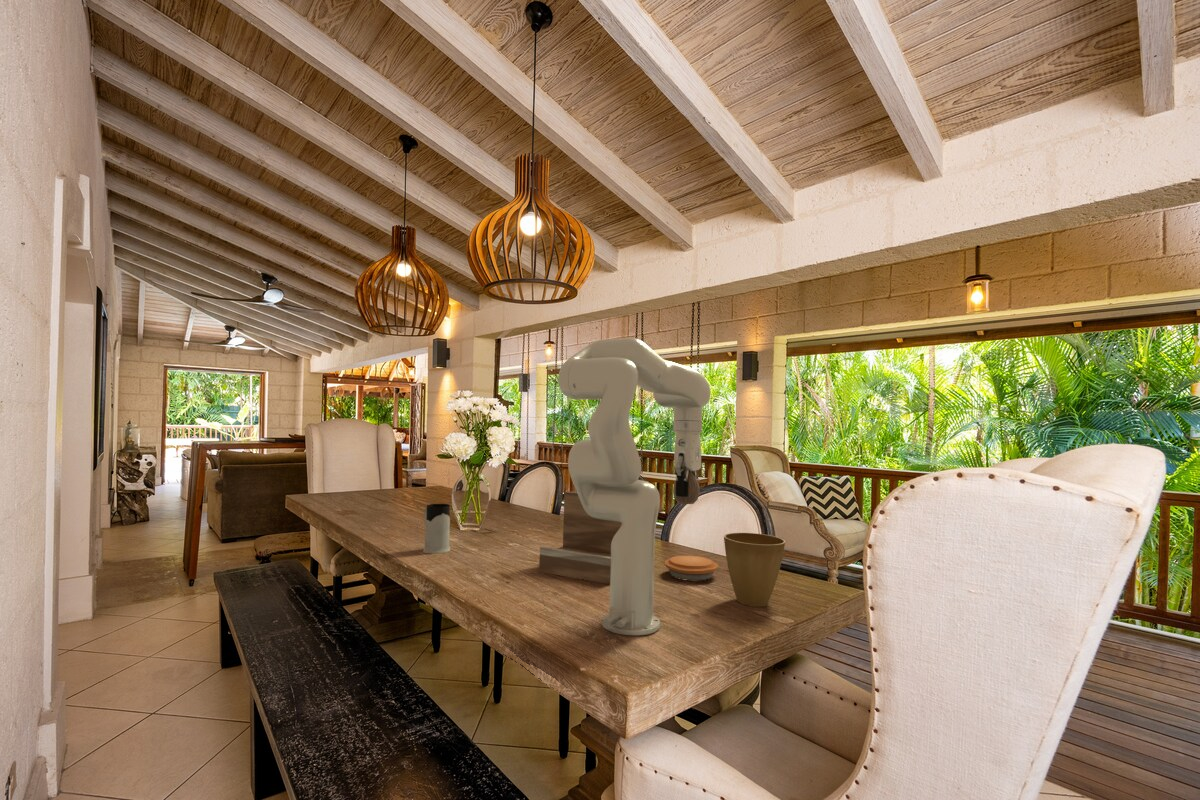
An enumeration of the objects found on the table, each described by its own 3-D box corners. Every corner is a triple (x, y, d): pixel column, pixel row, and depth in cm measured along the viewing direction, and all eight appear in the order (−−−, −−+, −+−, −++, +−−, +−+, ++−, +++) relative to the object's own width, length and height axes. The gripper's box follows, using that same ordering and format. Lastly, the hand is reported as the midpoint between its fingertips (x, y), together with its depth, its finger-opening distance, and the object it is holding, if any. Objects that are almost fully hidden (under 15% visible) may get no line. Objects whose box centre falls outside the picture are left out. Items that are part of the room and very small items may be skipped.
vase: (704, 504, 147) (705, 471, 147) (682, 505, 144) (683, 471, 144) (689, 501, 153) (690, 468, 154) (668, 501, 150) (668, 469, 151)
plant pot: (756, 616, 130) (757, 546, 131) (710, 598, 143) (711, 535, 143) (797, 605, 138) (797, 540, 139) (750, 589, 151) (751, 530, 151)
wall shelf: (611, 584, 152) (613, 503, 153) (539, 571, 164) (541, 496, 165) (634, 573, 165) (636, 497, 166) (565, 561, 177) (567, 491, 178)
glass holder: (429, 554, 181) (431, 508, 182) (412, 546, 192) (413, 502, 192) (454, 551, 187) (456, 506, 188) (436, 543, 198) (437, 500, 198)
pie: (673, 566, 174) (674, 550, 174) (723, 573, 167) (723, 556, 167) (656, 578, 160) (657, 561, 160) (710, 586, 153) (710, 568, 153)
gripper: (692, 427, 140) (690, 499, 139) (709, 428, 156) (708, 492, 155) (663, 427, 143) (661, 497, 142) (683, 427, 159) (682, 490, 158)
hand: (686, 494), depth 149 cm, fingers closed on vase, 6 cm apart
